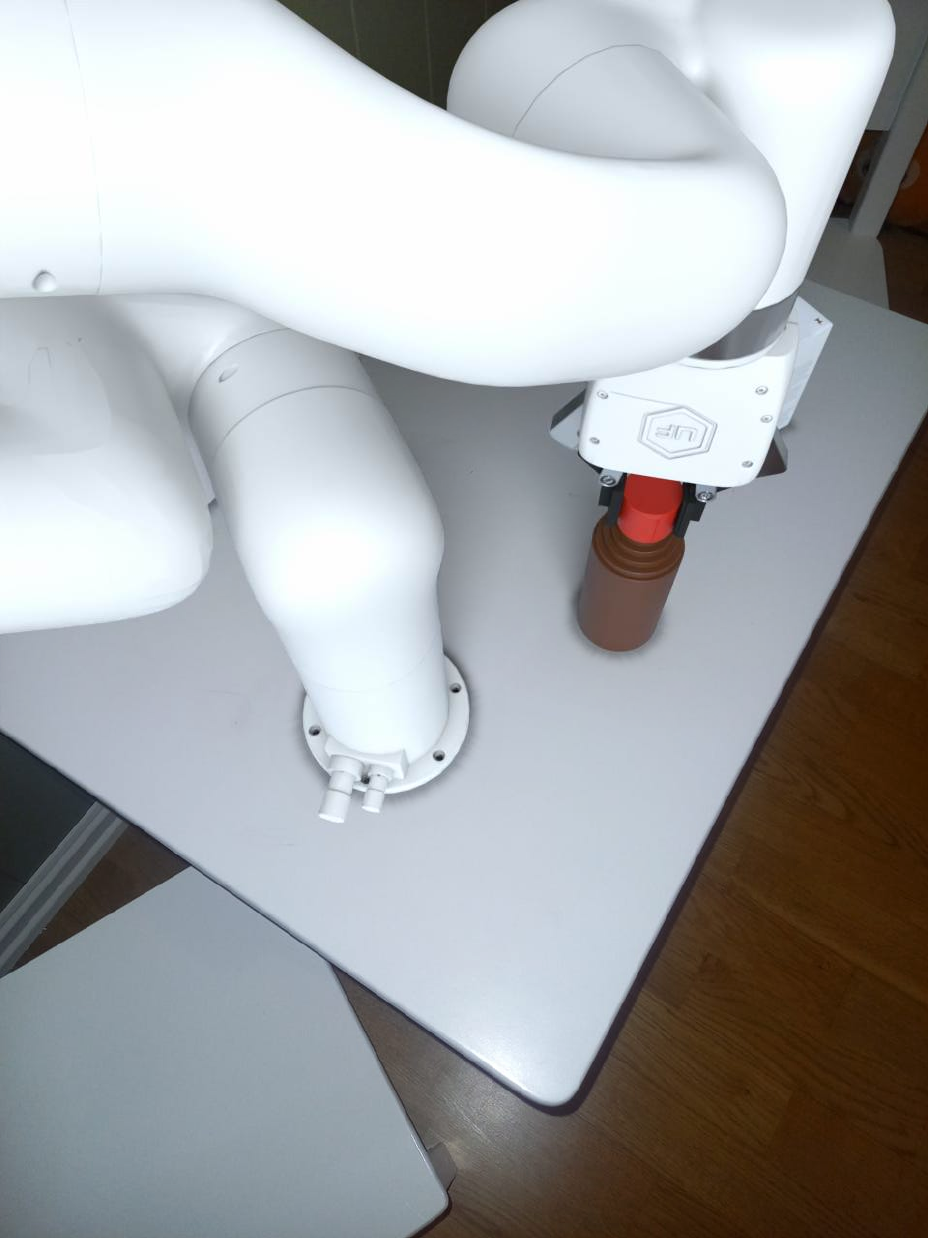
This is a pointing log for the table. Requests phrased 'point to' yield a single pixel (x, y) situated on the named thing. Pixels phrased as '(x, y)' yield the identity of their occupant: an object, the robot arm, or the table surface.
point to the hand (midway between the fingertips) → (647, 512)
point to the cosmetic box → (804, 354)
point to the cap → (649, 507)
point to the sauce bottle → (626, 587)
